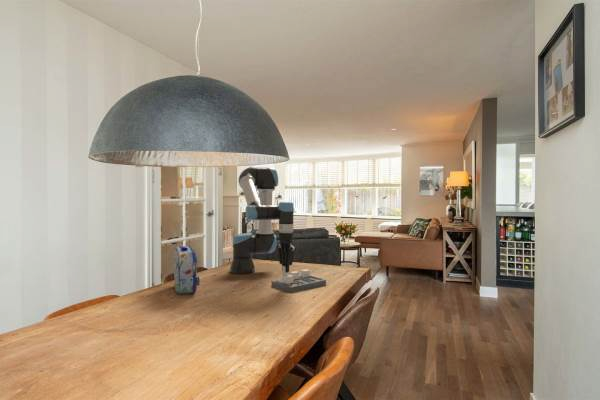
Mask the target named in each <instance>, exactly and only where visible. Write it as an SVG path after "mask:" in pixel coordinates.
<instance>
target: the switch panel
mask: <svg viewBox="0 0 600 400" xmlns="http://www.w3.org/2000/svg"><path fill="white" fill-rule="evenodd" d="M322 286H327V279H324V278H322V277H317V276H313V275H310V277H301V275H299V279H295V280H294V283H290V284H287V283H284V279H283V278H282V279H278V280H277V279H276V280H272V281H271V287H272V288H273V287H274V288H276V289H279V290H282V291H284V292H285V291H286V292H289V293H295V292H299V291H304V290H308V289H309V290H310V289H314V288H318V287H322Z"/></svg>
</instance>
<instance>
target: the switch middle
mask: <svg viewBox="0 0 600 400" xmlns="http://www.w3.org/2000/svg"><path fill="white" fill-rule="evenodd" d="M289 275H292V276H294V280H295V279H299V276H300V272H299V271H289Z"/></svg>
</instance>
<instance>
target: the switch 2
mask: <svg viewBox="0 0 600 400" xmlns="http://www.w3.org/2000/svg"><path fill="white" fill-rule="evenodd" d="M300 276H301V277H310V276H311V270H310V269H306V268H305V269H301V270H300Z"/></svg>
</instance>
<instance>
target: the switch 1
mask: <svg viewBox="0 0 600 400" xmlns="http://www.w3.org/2000/svg"><path fill="white" fill-rule="evenodd" d="M284 283H287V284H290V283H294V276H292V275H290V274H289V275H286V276H284Z"/></svg>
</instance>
